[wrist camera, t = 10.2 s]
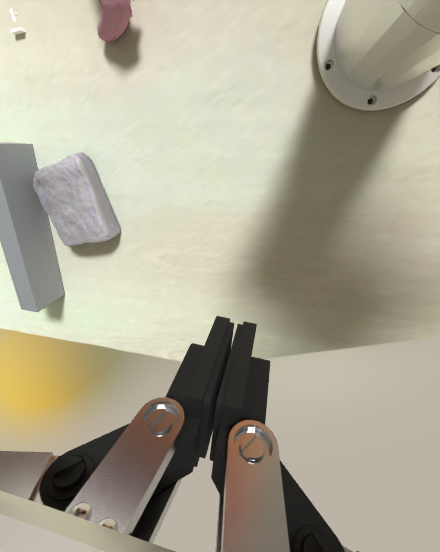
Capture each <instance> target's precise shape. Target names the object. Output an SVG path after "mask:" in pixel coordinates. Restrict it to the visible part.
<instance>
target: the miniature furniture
mask: <svg viewBox="0 0 440 552" xmlns="http://www.w3.org/2000/svg"><path fill="white" fill-rule="evenodd" d="M10 12H11V15H12V18H13V21H16V19H15V16H14V13H13V10H12V9H10ZM15 14H16V12H15ZM16 15H17V14H16ZM24 32H26V31H25V29H24V28H21V27H18V28H14V29H11V33H14V34H16V35H17V34H20V33H24Z"/></svg>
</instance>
